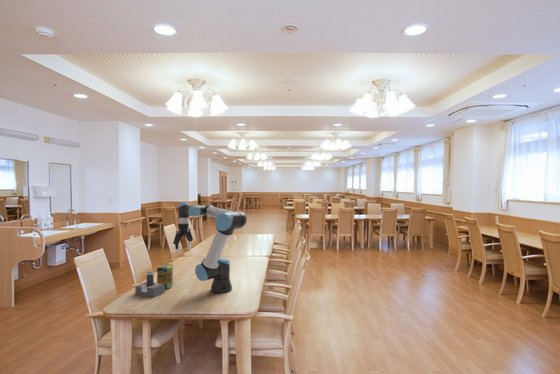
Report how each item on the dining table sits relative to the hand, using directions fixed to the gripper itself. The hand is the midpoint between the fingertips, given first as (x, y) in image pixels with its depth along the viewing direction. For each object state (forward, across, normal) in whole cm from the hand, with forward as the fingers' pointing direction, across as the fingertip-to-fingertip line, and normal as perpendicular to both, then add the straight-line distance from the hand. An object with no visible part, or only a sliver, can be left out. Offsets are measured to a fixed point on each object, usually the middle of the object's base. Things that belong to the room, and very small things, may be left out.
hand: (183, 251), depth 245 cm
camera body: (+27, +21, -12) cm, 36 cm away
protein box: (+27, +2, -15) cm, 31 cm away
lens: (+24, +21, -12) cm, 34 cm away
